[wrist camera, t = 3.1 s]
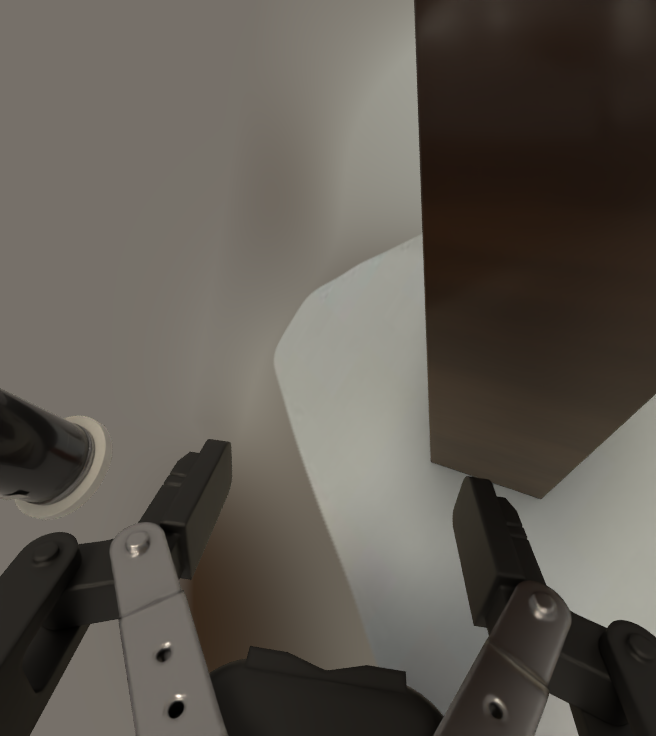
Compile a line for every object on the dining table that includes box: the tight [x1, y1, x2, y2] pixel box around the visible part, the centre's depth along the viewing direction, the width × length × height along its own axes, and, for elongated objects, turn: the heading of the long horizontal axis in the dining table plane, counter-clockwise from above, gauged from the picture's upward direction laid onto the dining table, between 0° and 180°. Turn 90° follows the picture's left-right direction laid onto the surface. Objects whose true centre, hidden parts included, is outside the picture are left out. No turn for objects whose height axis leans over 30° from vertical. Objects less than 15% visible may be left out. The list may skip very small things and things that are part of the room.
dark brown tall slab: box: [414, 0, 656, 499], centre depth 24 cm, size 30×9×36 cm, turn 157°
